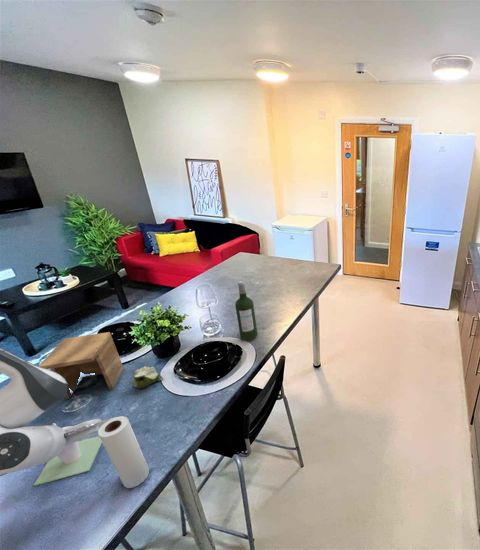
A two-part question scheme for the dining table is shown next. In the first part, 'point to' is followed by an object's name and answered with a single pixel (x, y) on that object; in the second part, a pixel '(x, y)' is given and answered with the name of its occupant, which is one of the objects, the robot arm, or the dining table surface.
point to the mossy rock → (145, 377)
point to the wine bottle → (245, 314)
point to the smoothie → (69, 451)
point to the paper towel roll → (123, 450)
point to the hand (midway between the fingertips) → (61, 441)
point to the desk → (85, 359)
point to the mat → (83, 464)
